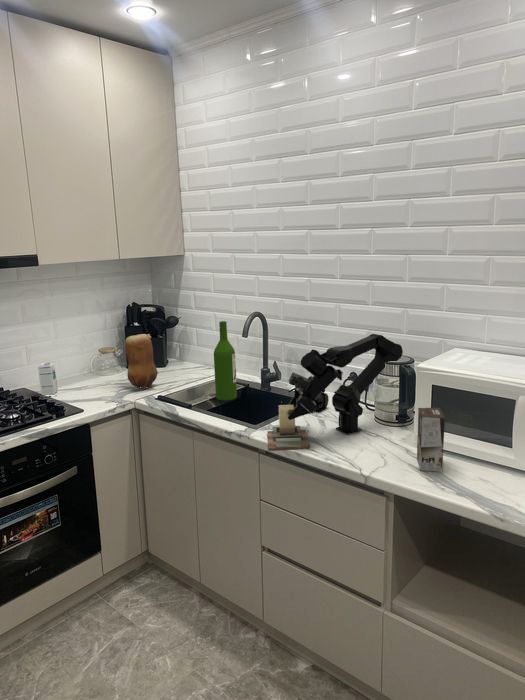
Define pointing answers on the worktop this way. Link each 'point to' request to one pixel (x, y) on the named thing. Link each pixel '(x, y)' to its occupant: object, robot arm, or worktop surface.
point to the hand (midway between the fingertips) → (287, 414)
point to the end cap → (321, 402)
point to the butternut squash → (140, 361)
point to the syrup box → (47, 379)
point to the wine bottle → (225, 367)
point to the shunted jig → (287, 440)
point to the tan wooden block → (286, 420)
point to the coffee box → (430, 439)
